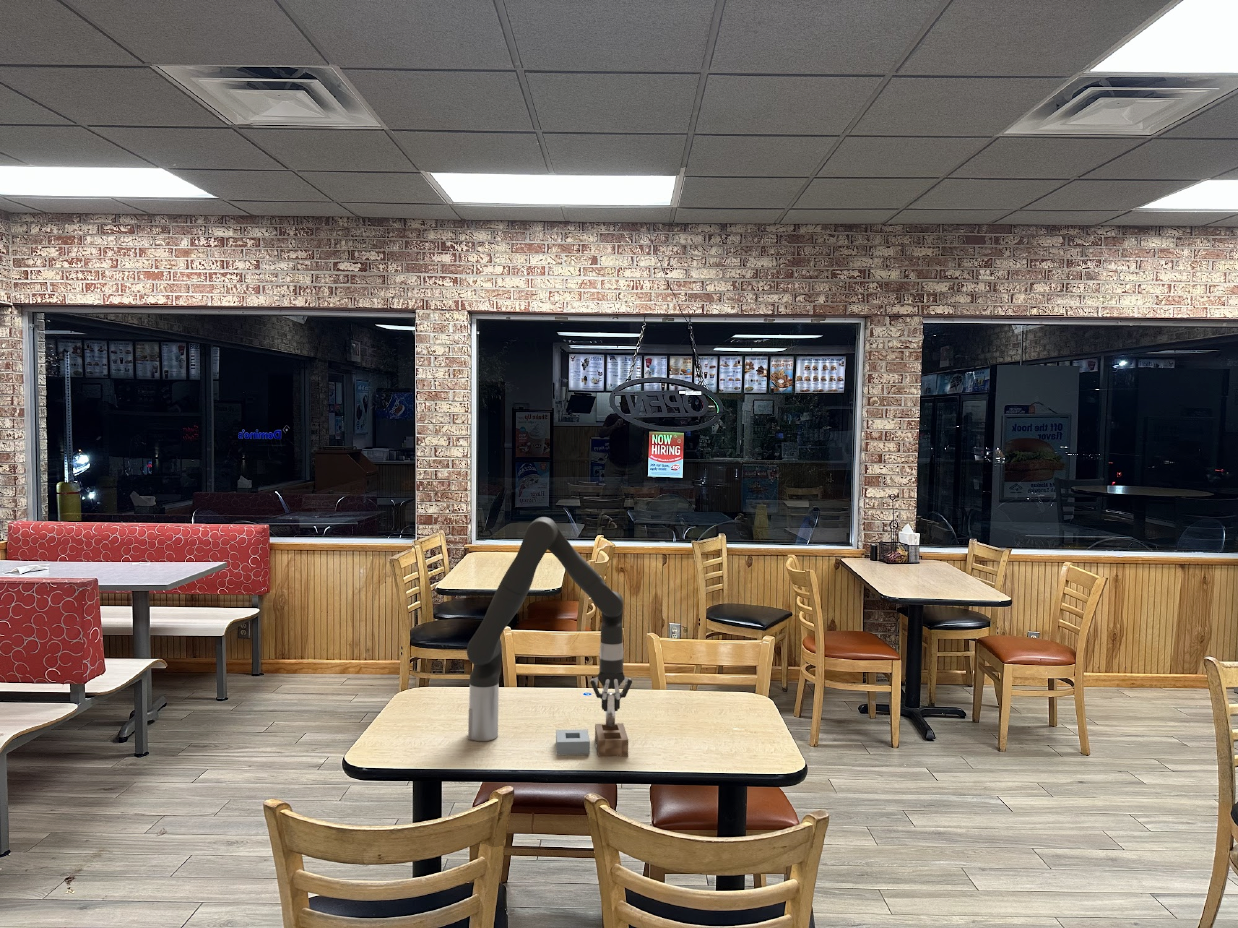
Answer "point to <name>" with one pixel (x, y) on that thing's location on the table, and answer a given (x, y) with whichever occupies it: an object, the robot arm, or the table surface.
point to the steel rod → (610, 709)
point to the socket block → (572, 742)
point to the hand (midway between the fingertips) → (610, 710)
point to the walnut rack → (611, 740)
